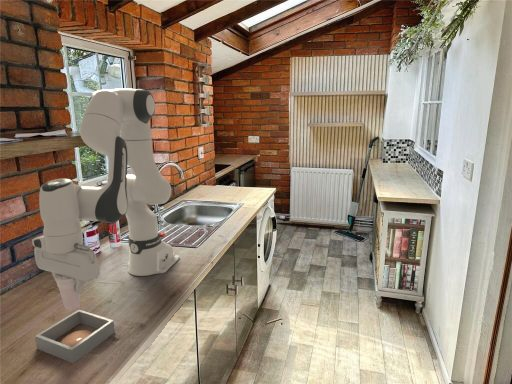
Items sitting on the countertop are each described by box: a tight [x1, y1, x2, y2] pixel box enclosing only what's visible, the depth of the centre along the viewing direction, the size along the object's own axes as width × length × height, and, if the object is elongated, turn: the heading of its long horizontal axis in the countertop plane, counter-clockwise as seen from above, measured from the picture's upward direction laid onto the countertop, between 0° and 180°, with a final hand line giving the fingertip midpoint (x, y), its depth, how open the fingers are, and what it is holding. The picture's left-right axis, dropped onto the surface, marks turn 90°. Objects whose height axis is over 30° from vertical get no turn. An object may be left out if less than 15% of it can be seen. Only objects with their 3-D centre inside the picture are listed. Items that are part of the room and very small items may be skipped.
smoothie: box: [54, 274, 81, 311], centre depth 94 cm, size 6×6×14 cm
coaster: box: [60, 329, 93, 347], centre depth 99 cm, size 8×8×1 cm
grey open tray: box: [34, 309, 116, 364], centre depth 98 cm, size 14×14×4 cm
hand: (70, 288), depth 95 cm, fingers closed on smoothie, 5 cm apart
